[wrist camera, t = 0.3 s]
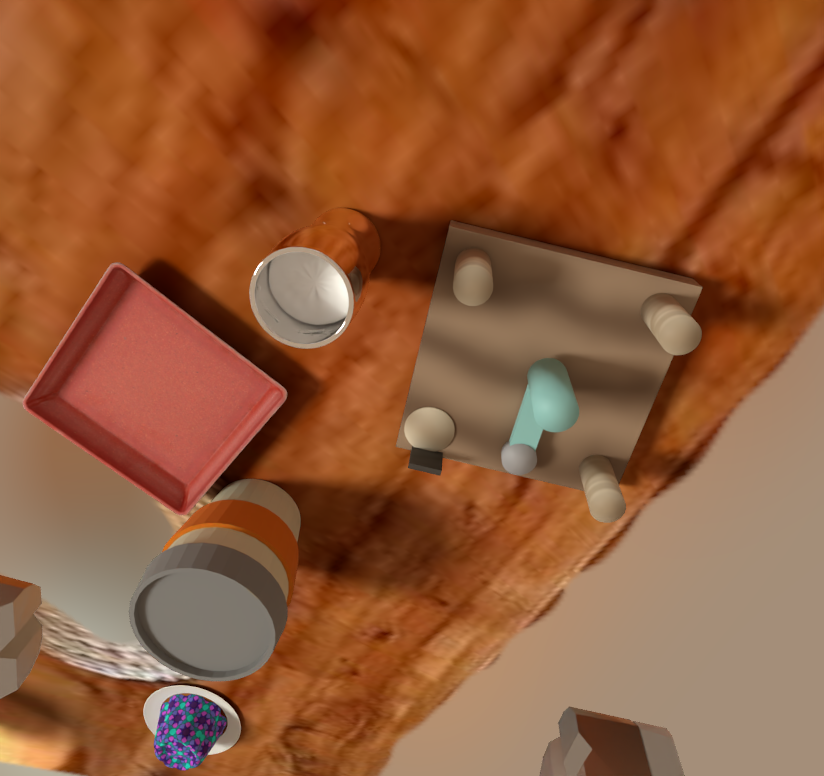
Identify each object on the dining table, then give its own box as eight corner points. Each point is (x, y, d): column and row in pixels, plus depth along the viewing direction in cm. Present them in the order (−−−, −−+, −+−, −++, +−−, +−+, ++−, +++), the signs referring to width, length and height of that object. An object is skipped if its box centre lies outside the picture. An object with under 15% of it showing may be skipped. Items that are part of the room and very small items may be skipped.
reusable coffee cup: (322, 568, 69) (285, 688, 55) (205, 563, 70) (141, 679, 56) (313, 464, 64) (270, 568, 50) (187, 460, 65) (111, 561, 51)
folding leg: (531, 471, 58) (538, 522, 52) (496, 463, 58) (498, 513, 51) (571, 358, 54) (585, 398, 47) (532, 349, 54) (541, 388, 47)
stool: (450, 220, 53) (446, 243, 45) (692, 278, 53) (730, 312, 45) (398, 433, 61) (387, 483, 54) (607, 482, 62) (627, 539, 54)
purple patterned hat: (263, 728, 80) (249, 768, 76) (194, 761, 84) (177, 801, 79) (195, 665, 77) (176, 704, 72) (126, 703, 81) (104, 742, 76)
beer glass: (398, 270, 55) (374, 332, 41) (323, 297, 56) (275, 365, 43) (366, 188, 52) (329, 226, 39) (288, 219, 54) (226, 266, 40)
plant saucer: (131, 249, 56) (112, 258, 53) (300, 379, 60) (291, 394, 57) (39, 391, 63) (17, 406, 60) (196, 500, 67) (183, 519, 64)
